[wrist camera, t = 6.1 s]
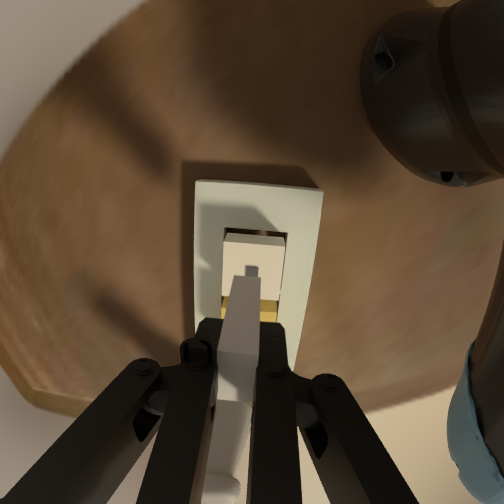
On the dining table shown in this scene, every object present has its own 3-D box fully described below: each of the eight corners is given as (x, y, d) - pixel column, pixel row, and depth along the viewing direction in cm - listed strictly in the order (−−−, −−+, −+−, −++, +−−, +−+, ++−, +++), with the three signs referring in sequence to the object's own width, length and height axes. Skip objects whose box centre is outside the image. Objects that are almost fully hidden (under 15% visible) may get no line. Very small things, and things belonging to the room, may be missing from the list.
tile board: (200, 179, 21) (195, 181, 20) (319, 188, 21) (323, 191, 20) (200, 364, 28) (197, 374, 26) (289, 372, 27) (290, 383, 26)
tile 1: (227, 232, 21) (223, 242, 19) (283, 237, 21) (285, 247, 19) (225, 283, 22) (221, 296, 20) (277, 287, 22) (278, 301, 20)
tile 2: (224, 294, 23) (221, 308, 21) (276, 299, 23) (277, 313, 21) (223, 335, 24) (220, 351, 22) (270, 339, 24) (271, 355, 22)
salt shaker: (197, 405, 30) (174, 501, 18) (207, 374, 28) (182, 482, 16) (245, 417, 30) (237, 513, 18) (261, 388, 28) (257, 497, 16)
